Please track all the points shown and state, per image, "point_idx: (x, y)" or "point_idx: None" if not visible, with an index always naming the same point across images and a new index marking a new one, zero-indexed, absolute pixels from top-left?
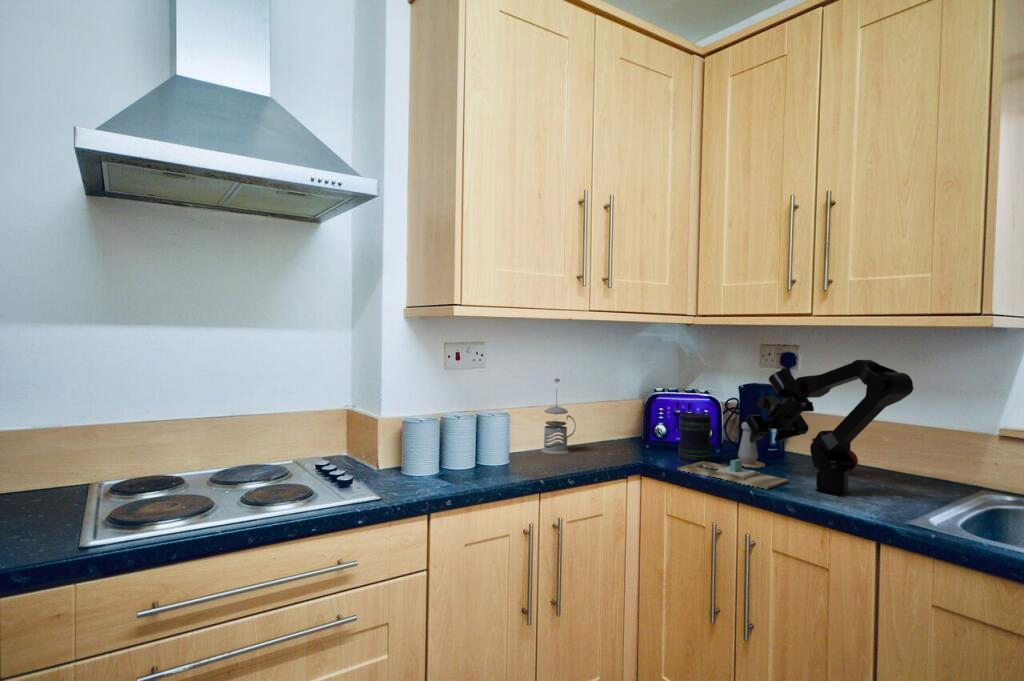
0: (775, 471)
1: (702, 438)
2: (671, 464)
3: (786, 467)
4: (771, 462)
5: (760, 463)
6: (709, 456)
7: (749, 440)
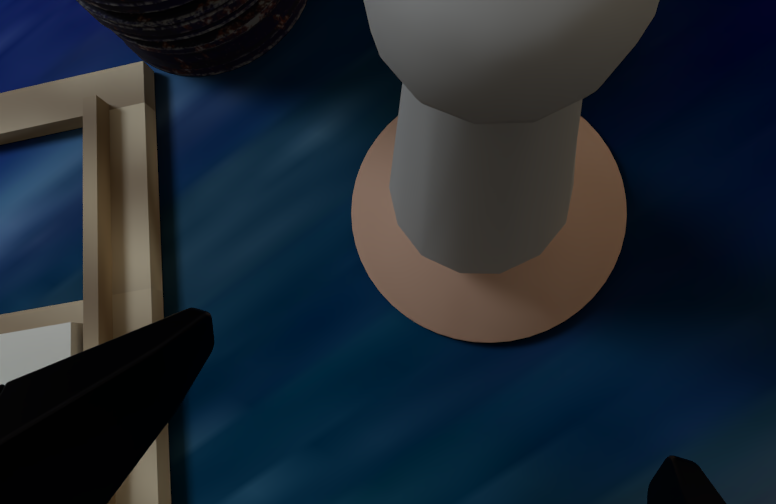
0: (463, 497)
1: None
2: (6, 2)
3: (721, 455)
4: (768, 253)
5: (574, 267)
6: (236, 26)
7: (194, 310)
